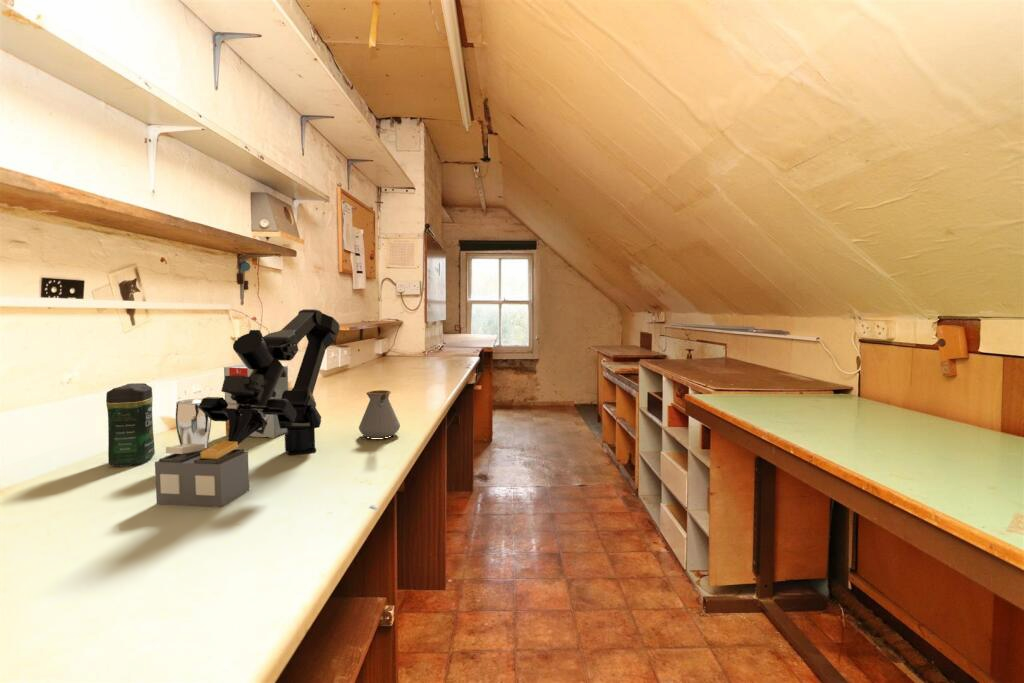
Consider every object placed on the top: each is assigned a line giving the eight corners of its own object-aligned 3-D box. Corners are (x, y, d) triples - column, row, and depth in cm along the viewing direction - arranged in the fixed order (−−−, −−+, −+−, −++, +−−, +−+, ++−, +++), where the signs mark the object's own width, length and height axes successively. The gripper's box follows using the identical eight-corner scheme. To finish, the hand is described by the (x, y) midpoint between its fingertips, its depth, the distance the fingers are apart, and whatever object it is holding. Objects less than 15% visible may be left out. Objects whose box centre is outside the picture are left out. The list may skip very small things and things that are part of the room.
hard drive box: (224, 436, 139) (222, 366, 137) (243, 429, 146) (241, 363, 145) (273, 438, 136) (271, 368, 135) (290, 431, 144) (288, 365, 142)
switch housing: (188, 488, 99) (187, 447, 98) (249, 490, 97) (247, 449, 97) (155, 504, 90) (153, 459, 90) (220, 507, 89) (219, 462, 89)
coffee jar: (144, 465, 112) (140, 386, 111) (103, 469, 110) (98, 388, 108) (160, 453, 121) (156, 380, 120) (122, 456, 119) (118, 381, 118)
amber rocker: (222, 446, 96) (222, 440, 96) (237, 447, 96) (237, 441, 96) (200, 458, 90) (200, 451, 90) (217, 458, 90) (216, 452, 90)
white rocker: (189, 449, 97) (190, 443, 97) (204, 450, 96) (204, 443, 97) (165, 453, 91) (166, 446, 91) (181, 453, 91) (182, 447, 91)
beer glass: (194, 470, 109) (192, 404, 108) (169, 467, 111) (167, 403, 110) (219, 461, 116) (217, 399, 115) (195, 458, 117) (193, 397, 117)
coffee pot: (358, 433, 143) (357, 382, 142) (397, 429, 147) (397, 380, 146) (361, 453, 123) (360, 395, 122) (407, 449, 127) (406, 392, 126)
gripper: (202, 359, 101) (162, 424, 91) (287, 360, 99) (256, 427, 89) (229, 389, 110) (195, 452, 100) (308, 391, 108) (282, 455, 98)
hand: (231, 446), depth 96 cm, fingers closed, pressing on amber rocker
